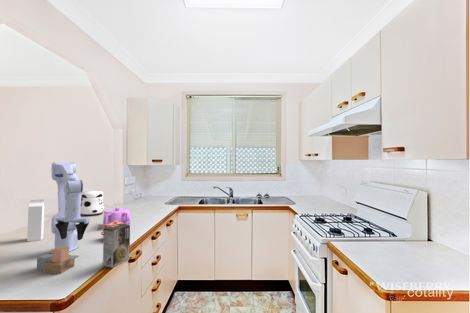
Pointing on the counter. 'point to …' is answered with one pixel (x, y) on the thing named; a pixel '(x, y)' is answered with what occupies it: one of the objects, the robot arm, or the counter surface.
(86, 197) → the milk container
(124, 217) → the teakettle
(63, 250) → the terracotta block
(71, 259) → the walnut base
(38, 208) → the milk
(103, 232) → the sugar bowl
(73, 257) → the tile
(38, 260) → the grey block
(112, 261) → the coffee box
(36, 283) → the counter surface
